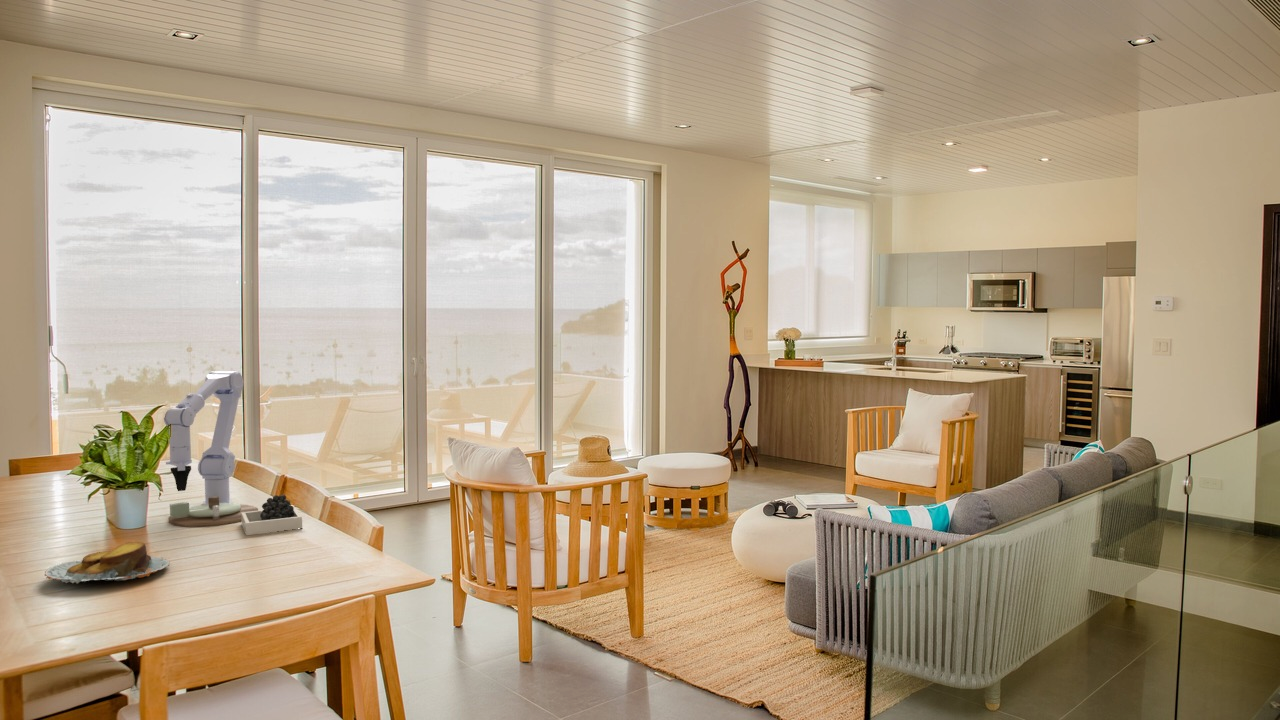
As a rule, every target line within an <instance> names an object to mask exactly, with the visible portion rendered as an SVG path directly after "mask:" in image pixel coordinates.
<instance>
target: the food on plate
mask: <svg viewBox="0 0 1280 720" xmlns="http://www.w3.org/2000/svg"><path fill="white" fill-rule="evenodd" d="M170 565H171V562H170V561H169V560H168V559H166V558H164V557H157V556H150V555H149V554H148V551H147V546H146V544H145V543H144V542H142V541H141V542H140V541H127V542H125V543H122V544H121V545H119V546H117V547H116V548H114V549H112V550H107V551H97V552H93V553H89V554H87V555H85V556H84V557H82V559H81V560H73V561H67V562H66V561H65V562H62V563H59V564H55V565H53V566H50V567H49V568H48V569H46V570H45V571H44V576H45V577H46V579H49V580H50V579H52V580H53V581H54V580H57V581H61V582H62V583H65V584H68V583H72V584H74V583H76V584H79V583H80V582H83V583H86V582H87V581H88V582H89V581H100V580H104V581H113V580H114V581H116V582H120V581H127V580H133V579H137V578H139V579H140V578H144V577H150V574H152V573H153V574H154V573H157V572H158V571H161V570H163V569H167V567H169V566H170ZM148 569H150V571H148V572H147V570H148Z"/></svg>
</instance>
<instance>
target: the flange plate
mask: <svg viewBox="0 0 1280 720" xmlns="http://www.w3.org/2000/svg"><path fill="white" fill-rule="evenodd" d="M241 505H242V504H240V503H238V502H237V503H235V502H231V503H219V516H221V515H227V514H232V513H235V512H238V511H240V510H241ZM169 516H170V517H171V518H175V517H182V516H193V517H213V509H212V508H209V504H204V503H203V504H199V505H194V506H192V507H190V503H189V502H188V501H182V502H175V503H170V504H169Z"/></svg>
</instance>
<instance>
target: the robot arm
mask: <svg viewBox="0 0 1280 720" xmlns="http://www.w3.org/2000/svg"><path fill="white" fill-rule="evenodd" d="M244 383H245V382H244V379H243V375H242V373H241V372H240V371H238V370H236V371H235V370H234V371H215V370H212V371H209V372H208V373H207V375H206V376H205V380H204V383H203V384H202V385H201V386H200V387H199V388H198V390H196V392H195V393H194V392H192V393H191V392H190V393H187V395H186V396H185V397H184V398H183V400H181V402H179V403H178V404H177V405H176V406H175V407H171V408H169V409H167V411H165V413H164V417H163V420H164V424H165V425H166V427H167V426H168V425H170V424H171V437H170V439H169V438H168V439H169V441H168V442H169V460H167V461H165V465H171V466H175V467H171V468H170V472H171V473H172V475H173V477H174V481H175V486H176V489H177V492H183V491H184V492H185V491H186V489H187V485H188V478H189V476H190V472H191V470H192V465H190V464H192V463H193V460H192V450H191V448H192V447H191V425H193V424H194V421H195V418H196V416H197V414H198V413H199V412H200V411H201V410H202V409H203V408H204V407H205V402H206V400H207V399H208V398H210V397H211V396H212V395H213V396H214V397H216V398H217V399H219V401H220V404H219V409H218V414H217V417H216V422H215V427H214V430H213V437H212V442H211V445H210V447H209V448H207V449H206V450H205V451H203V453H202V456H201V458H200V460H199V461H198V465H197V470H198V473H199V475H200V476H202V479H204V497H205V498H204V500H203V502H202V503H203V505H204V504H209V503H208V498H209V497H215V496H217V497H219V503H232V500H231V498H230V478H231V477H232V475H233V474H234V472H235V467H236V465H235V458H236V456H235V454H234V453H233V452H232V451H231V450H230V449H229V448H230V445H231V439H232V433H233V429H234V424H235V420H236V414H237V410H238V405H239V399H240V398H241V397H242V391H243V387H244ZM169 428H170V426H169ZM169 435H170V429H169V432H168V436H169Z"/></svg>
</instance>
